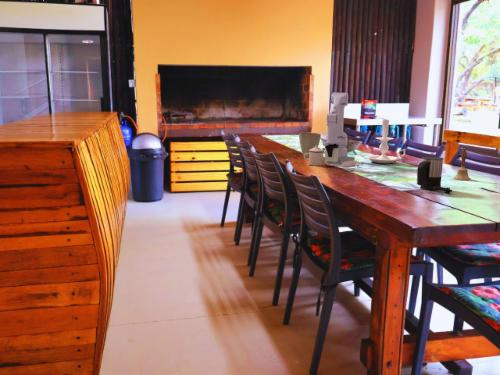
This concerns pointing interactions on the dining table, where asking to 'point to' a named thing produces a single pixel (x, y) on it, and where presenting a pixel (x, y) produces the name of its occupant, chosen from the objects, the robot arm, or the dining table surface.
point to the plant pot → (308, 142)
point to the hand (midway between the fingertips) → (331, 156)
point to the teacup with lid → (315, 156)
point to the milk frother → (431, 174)
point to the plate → (334, 155)
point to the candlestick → (385, 147)
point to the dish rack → (343, 161)
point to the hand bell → (462, 169)
